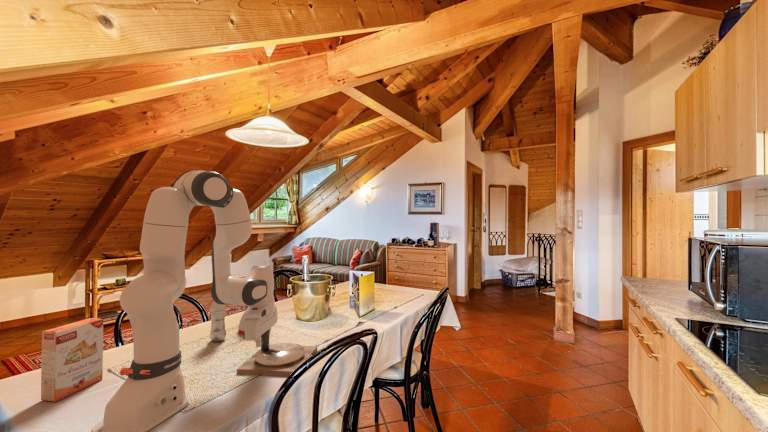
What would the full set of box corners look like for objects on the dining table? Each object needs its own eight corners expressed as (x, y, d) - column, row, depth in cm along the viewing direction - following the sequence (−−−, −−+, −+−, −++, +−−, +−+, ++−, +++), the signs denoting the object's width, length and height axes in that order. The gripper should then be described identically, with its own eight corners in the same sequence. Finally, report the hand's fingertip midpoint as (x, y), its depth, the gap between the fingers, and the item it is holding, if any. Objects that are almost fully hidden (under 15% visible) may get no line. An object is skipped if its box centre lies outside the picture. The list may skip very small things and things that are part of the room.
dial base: (297, 376, 112) (297, 371, 112) (236, 373, 114) (236, 368, 114) (317, 350, 134) (317, 345, 134) (265, 348, 136) (265, 343, 136)
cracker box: (56, 403, 97) (55, 332, 97) (40, 401, 98) (39, 331, 98) (104, 379, 110) (104, 317, 110) (89, 378, 111) (89, 316, 111)
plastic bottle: (223, 336, 149) (222, 293, 149) (228, 340, 145) (228, 295, 145) (207, 340, 145) (207, 295, 145) (212, 344, 140) (212, 298, 140)
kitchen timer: (272, 330, 157) (272, 299, 157) (242, 337, 149) (241, 304, 149) (265, 323, 168) (264, 294, 168) (236, 328, 161) (236, 298, 161)
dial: (313, 350, 130) (313, 328, 130) (285, 370, 113) (285, 345, 113) (275, 344, 136) (275, 323, 136) (243, 362, 119) (243, 339, 119)
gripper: (266, 299, 136) (267, 332, 136) (240, 315, 116) (241, 354, 116) (281, 300, 135) (281, 333, 136) (257, 315, 115) (258, 354, 115)
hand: (262, 343), depth 126 cm, fingers open, 5 cm apart
